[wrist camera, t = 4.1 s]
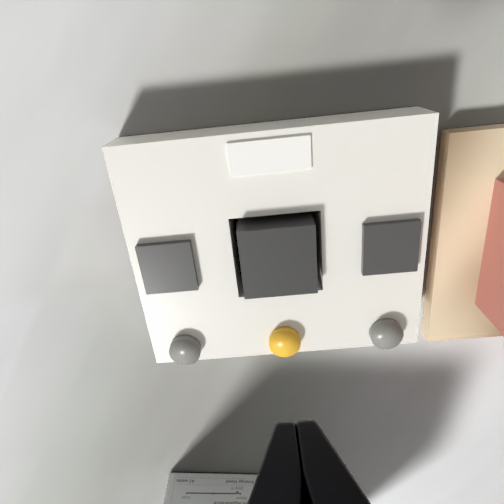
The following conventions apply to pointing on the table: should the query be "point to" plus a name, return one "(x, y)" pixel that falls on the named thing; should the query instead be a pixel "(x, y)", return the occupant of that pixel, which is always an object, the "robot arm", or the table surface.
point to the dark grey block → (278, 255)
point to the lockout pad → (461, 231)
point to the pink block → (493, 262)
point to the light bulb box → (209, 488)
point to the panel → (273, 203)
